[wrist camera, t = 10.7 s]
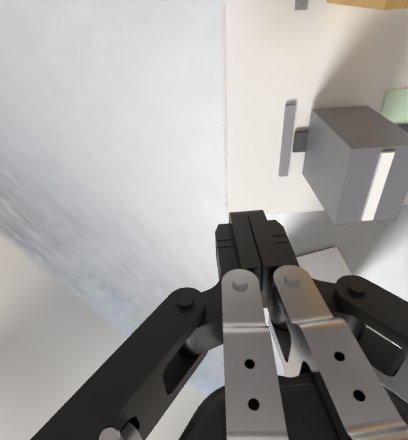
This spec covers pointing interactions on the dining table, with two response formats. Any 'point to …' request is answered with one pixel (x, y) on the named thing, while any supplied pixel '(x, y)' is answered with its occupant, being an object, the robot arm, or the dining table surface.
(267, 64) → the board
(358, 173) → the fader charcoal
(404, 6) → the fader amber
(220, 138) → the dining table surface
